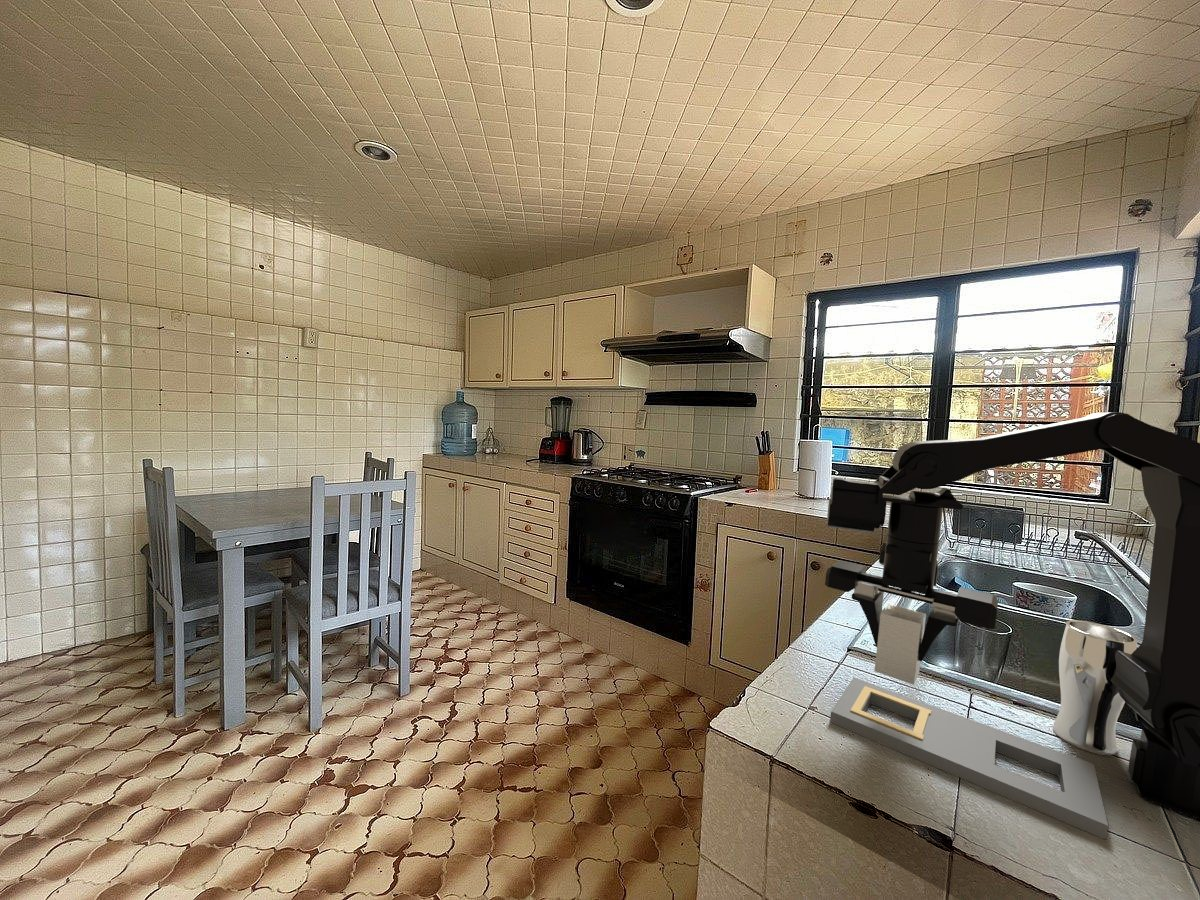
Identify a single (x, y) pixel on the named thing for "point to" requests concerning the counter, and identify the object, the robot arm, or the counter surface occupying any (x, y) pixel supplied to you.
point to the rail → (976, 754)
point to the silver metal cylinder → (1090, 685)
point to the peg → (899, 643)
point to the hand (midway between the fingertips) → (899, 653)
